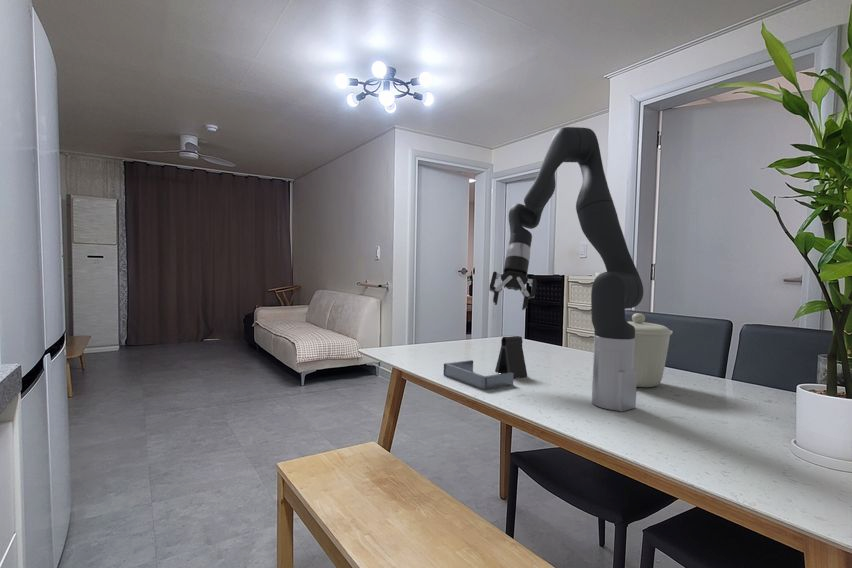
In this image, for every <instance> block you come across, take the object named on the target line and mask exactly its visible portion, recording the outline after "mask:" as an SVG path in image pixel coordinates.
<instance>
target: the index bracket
mask: <svg viewBox="0 0 852 568" xmlns="http://www.w3.org/2000/svg"><path fill="white" fill-rule="evenodd" d="M472 371H473V372H472ZM443 376H445V377H448V378H451V379H453V378H454V379H453V380H456V379H457V380H456V381H459V382H462V383H464V384H466V385H469V386H472V387H474V386H475V388H478V389H480V390H483V391H487V390H488V391H489V390H492V389H493V390H494V389H498V388H503V387H504V386H505V387H509V386H508V385H510V386H513V385H514V378H513V376H514V373H512V372H509V373H502V374H499V373H498V374H497V373H496V374H491V375H483V374H479V373H476V372H474V360H472V359H469V360H463V361H461V360H460V361H455V362H446V363H443Z"/></svg>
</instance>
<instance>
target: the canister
mask: <svg viewBox="0 0 852 568" xmlns="http://www.w3.org/2000/svg"><path fill="white" fill-rule="evenodd" d="M626 321H627V320H626ZM645 321H646V317H645V315H644V314H643V313H641V312H639V313H637V312H636V313H634V314H632V316H631V321H627V322H628V323H629V324H631V325H633V326H634V328H635V346H634V368H633V369H636V370H637V387H636V388H653V387H654V388H655V387H656V386H659V384H661V382H662V380H663V377H664V372H665V368H666V367H665V366H666V362H667V357H668V350H669V345H670V344H669V343H670V337H671V335H672V334H673V330H670V328H668V327H667V326H665V325H662V324H658V323H650V322H645Z"/></svg>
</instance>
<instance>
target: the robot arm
mask: <svg viewBox="0 0 852 568" xmlns="http://www.w3.org/2000/svg"><path fill="white" fill-rule="evenodd" d="M563 163H576V164H578V166H579V168H580V172H581V176H582V184H581V187H580V190H579V193H578V195H577V199H576V202H575V203H576V204H575V210H576V214H577V218H578V221H579V225H580V228H581V231H582V233H583V234H584V236H585V237H586V239H587V240H588V242H589V243H590V244H591V246H592V247H593V248H594V249H595V250H596V252H597V253H598V254H599V256H600V257H601V259H602V262H603V264H604V266H605V269H606V271H603V272H601V273H599V274H598V275H597V276H596V277H595V278H594V281H593V282H592V287H591V292H590V294H591V295H590V299H591V301H590V303H591V304H590V307H591V323H592V326H593V330H594V340H593V358H592V359H593V362H592V383H591V384H592V385H591V386H592V387H591V389H592V390H591V403H592V404H593V405H594V406H596V407H598V408H603V409H605V410H612V411H618V412H626V411H628V410H632V409H636V407H637V388H638V387H637V370H636V369H633V368H634V346H635V328H634V326H633V325H631V324H629V323H628V322H627V318H626V310H627V309H633V308H635V307H637V306H639V305H640V303H642V300H643V298H644V284H643V282H642V279H641V276H640V274H639V272H638V269H637V268H636V265H635V263H634V262H635V261H634V260H633V258H632V256H631V254H630V252H629V247H628V246H627V243H626V239H625V236H624V233H623V231H622V227H621V224H620V220H619V217H618V213H617V208H616V207H615V203H614V200H613V198H612V195H611V191H610V189H609V188H610V187H609V186H608V181H607V178H606V174H605V171H604V170H605V169H604V166H603V160H602V155H601V149H600V143H599V141H598V136H597V135H596V133H595V131H594V130H593V129H591V128H589V127H580V126H579V127H577V126H564V127H560V128H559V129H558V130H557V131H556V132H555V133H554V135H553V137H552V139H551V140H550V143H549V146H548V149H547V151H546V153H545V156H544V158H543V161H542V164H541V166H540V168H539V171H538V173H537V176H536V178H535V180H534V181H533V183H532V184H531V186H530V187H529V189H528V191H527V192H526V194H525V196H524V198H523V203H524V204H523V203H515V204H513V205H512V206H511V207H510V209H509V211H508V225H509V233H510V235H509V242H508V248H507V249H506V254H505V259H504V266H503V270H502V271H503V272H502V273H498V272H497V271H493V273H492V276H491V280H490V282H489V289H488V290H489V292H491V293H494V294H493V298H492V302H493V304H494V305H495V306H497V305H498V302H499V301H498V299H499V295H500V292H502V291H504V289H507V290H513V291H519V292H520V293H521V294H522V296H523V301H522V307H521V310H522V311H525V309H527V308H528V306H529V299H534V298H535V297H536V295H537V294H536V292H537V281H538V280H537V278H536V277H533V279H532V278H528V271H529V264H530V259H531V246H532V239H533V234H532V233H531V231H529V230H528V229H530V230H532V229H535V228H537V227H538V226H539V225H540V221H541V218H542V214H543V211H544V208H545V207H546V205H547V204H548V202H549V201H550V199H551V198H552V197H553V194H554V193H555V190H556V171H557V169H559V167H560V166H561V165H562V164H563ZM499 279H501V283H500V284H499V285H497V287H496V286H495V284H496V281H499ZM527 283H528V284H529V287H531V289H530V292H529V291H528V290H527V287H526V285H527Z"/></svg>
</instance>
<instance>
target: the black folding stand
mask: <svg viewBox="0 0 852 568" xmlns="http://www.w3.org/2000/svg"><path fill="white" fill-rule="evenodd" d="M500 342H501V346H500V350H499V355H498V358H497V362H496V365H495V366H496V367H495V369H494V370H495V373H497V372H498V374H499V373H501V374H502V373H509V372H512V373H514V376H513V379H517V378H516V377H519V378H527V377H528V371H527V365H526V359H525V355H524V350H523V343H524V342H523V337H522V336H519V335H516V336H514V335H513V336H512V335H511V336H503V337H501V341H500Z"/></svg>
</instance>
